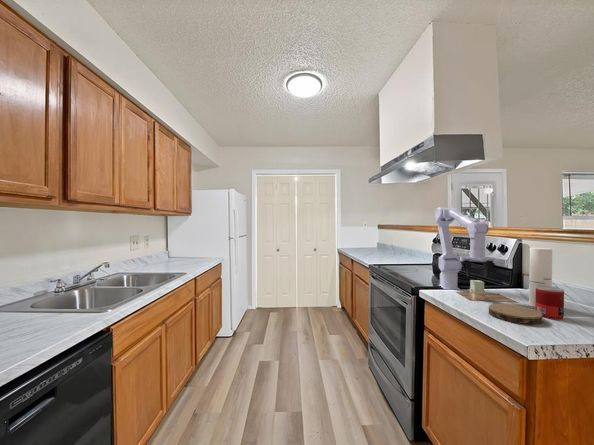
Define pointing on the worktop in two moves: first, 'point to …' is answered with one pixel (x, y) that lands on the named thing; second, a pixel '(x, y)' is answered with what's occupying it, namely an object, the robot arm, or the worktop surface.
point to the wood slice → (515, 314)
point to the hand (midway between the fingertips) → (477, 277)
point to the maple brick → (477, 295)
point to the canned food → (550, 302)
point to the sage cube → (476, 285)
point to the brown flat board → (488, 297)
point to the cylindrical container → (539, 271)
